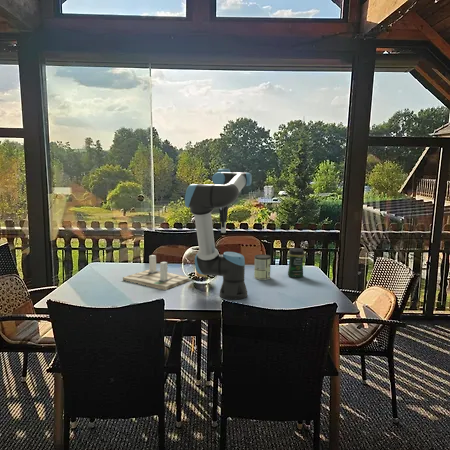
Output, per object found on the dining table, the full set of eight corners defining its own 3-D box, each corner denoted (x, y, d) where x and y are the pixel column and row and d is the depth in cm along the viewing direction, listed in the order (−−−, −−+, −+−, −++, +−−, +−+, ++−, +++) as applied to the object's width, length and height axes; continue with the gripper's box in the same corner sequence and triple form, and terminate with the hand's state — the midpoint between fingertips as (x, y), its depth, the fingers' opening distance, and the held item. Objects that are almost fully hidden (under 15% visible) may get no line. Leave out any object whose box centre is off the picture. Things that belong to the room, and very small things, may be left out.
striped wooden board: (165, 290, 227) (165, 286, 226) (122, 280, 245) (122, 277, 244) (191, 280, 247) (191, 276, 246) (150, 272, 265) (150, 269, 264)
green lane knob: (163, 282, 234) (163, 263, 233) (158, 281, 236) (158, 262, 235) (169, 280, 238) (169, 262, 237) (164, 279, 240) (163, 261, 239)
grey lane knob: (152, 273, 252) (152, 256, 250) (147, 272, 254) (147, 255, 253) (157, 272, 256) (157, 255, 255) (153, 271, 258) (152, 254, 257)
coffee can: (254, 275, 260) (254, 254, 258) (270, 275, 259) (270, 254, 257) (253, 279, 250) (254, 257, 248) (270, 280, 249) (270, 258, 247)
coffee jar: (289, 278, 254) (290, 249, 252) (287, 274, 262) (287, 247, 259) (304, 278, 255) (305, 249, 252) (301, 274, 262) (302, 247, 260)
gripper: (221, 193, 251) (220, 230, 254) (214, 194, 239) (214, 233, 242) (232, 193, 249) (232, 231, 252) (226, 195, 236) (226, 234, 240)
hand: (223, 232), depth 247 cm, fingers closed
